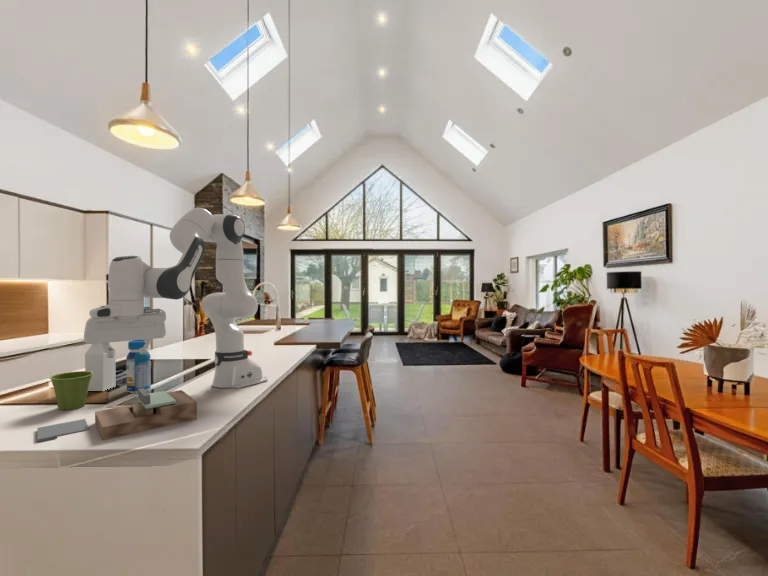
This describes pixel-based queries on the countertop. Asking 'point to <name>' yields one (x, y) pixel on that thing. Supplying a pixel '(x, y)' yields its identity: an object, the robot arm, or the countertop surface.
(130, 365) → the beverage bottle
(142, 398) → the sliding lid
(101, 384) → the milk carton
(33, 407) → the countertop surface
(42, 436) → the rubber pad
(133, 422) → the puzzle board
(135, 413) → the maple block
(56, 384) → the plant pot
